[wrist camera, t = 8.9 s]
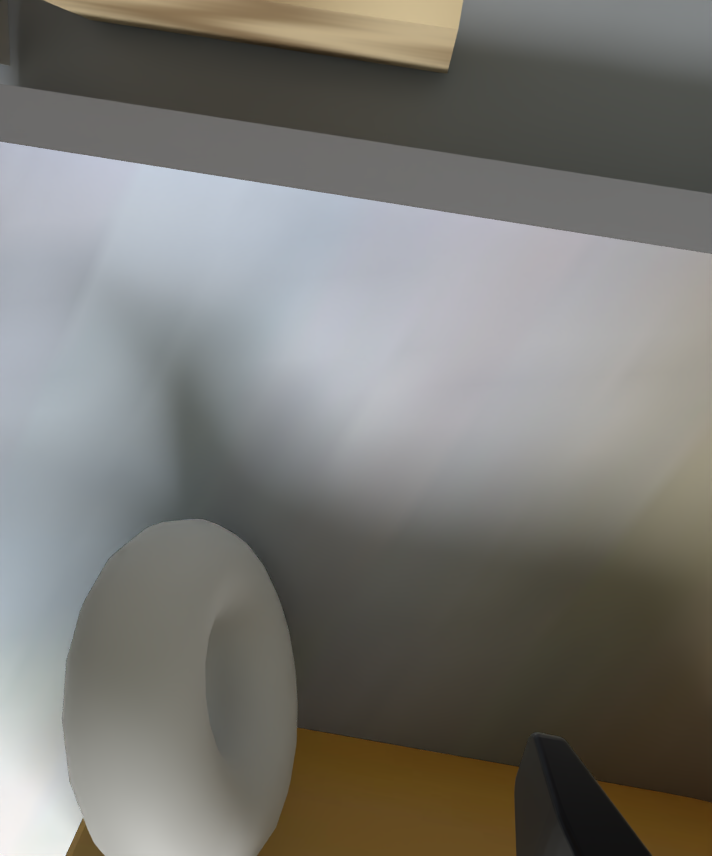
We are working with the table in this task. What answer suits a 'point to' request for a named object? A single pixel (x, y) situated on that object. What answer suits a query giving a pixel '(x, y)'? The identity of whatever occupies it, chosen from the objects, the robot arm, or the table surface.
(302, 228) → the table surface
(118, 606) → the donut
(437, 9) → the beige block with peg
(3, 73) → the tray
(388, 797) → the bread
